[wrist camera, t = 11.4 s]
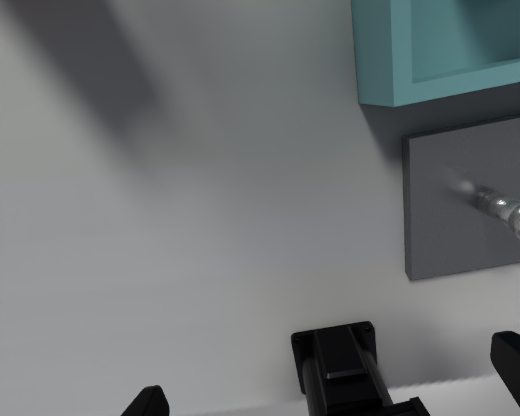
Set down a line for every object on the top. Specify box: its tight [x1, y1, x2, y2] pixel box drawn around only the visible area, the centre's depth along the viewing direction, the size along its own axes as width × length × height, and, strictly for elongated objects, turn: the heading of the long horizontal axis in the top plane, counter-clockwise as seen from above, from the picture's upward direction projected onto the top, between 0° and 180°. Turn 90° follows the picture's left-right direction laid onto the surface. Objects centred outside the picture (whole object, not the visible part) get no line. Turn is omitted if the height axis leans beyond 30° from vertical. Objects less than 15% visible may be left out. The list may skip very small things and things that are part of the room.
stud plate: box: [402, 114, 520, 280], centre depth 18 cm, size 10×10×5 cm
